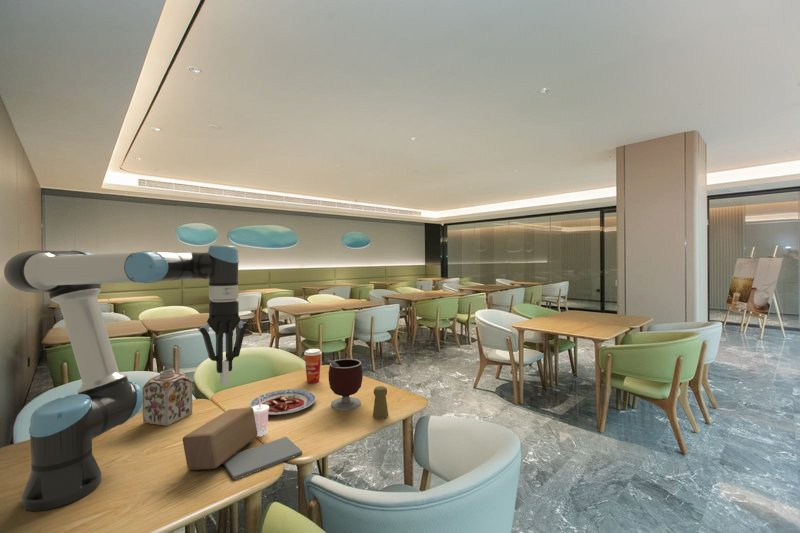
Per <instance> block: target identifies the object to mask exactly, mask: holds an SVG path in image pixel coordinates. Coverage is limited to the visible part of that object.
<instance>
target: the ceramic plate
mask: <svg viewBox="0 0 800 533" xmlns="http://www.w3.org/2000/svg"><path fill="white" fill-rule="evenodd" d="M316 400H317V396H316V394H314V393H313V392H311V391H308V390H305V389H304V390H303V389H297V388H296V389H295V388H294V389H292V388H291V389H283V390H274V391H270V392H266V393H264V394H260V402H261V404H266V405H269V410H268V416H270V415H273V416H276V415H277V416H278V415H286V414H292V413H296V412H299V411H302V410H305V409H306V408H308V407H311V406H312V405H313V404H314V403H315V402H316ZM256 405H259V396H257V397H256V398H253V400H252V401H251V402H250V403H249V407H251V408H252V407H253V406H256Z"/></svg>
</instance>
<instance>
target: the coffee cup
mask: <svg viewBox="0 0 800 533" xmlns="http://www.w3.org/2000/svg"><path fill="white" fill-rule="evenodd" d="M303 354H304V360H305V374H306V382H307V383H309V384H314V383H316V384H317V383H319V382H320V378H321V374H320V373H321V359H322V358H321V355H322V351H321V350H320V348H309V349H306V350H305V351H304V353H303Z"/></svg>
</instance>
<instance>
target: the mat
mask: <svg viewBox="0 0 800 533" xmlns="http://www.w3.org/2000/svg"><path fill="white" fill-rule="evenodd" d="M300 454H302V455H303V450H302V449H301V448H299V446H298V445H297V444H295V443H294V442H293V441H292V440H290V439H289V438H288V437H287V436H284V437H281V438H278V439H275V440H273V441H269V442H266V443H263V444H261V445H260V444H259V445H257V446H254V447H251V448H248V449H245V450H243V451H240V452H239V451H238V452H236V453H235V454H233V455H232V456H231V457H230V458H228V459H227V460H226V461H225V462H223V463H222V465H223V466H224V467H225V470H227V472H228V475H230V477H231V476H232V477H231V479H232V480H233V479H236V478H238V479H240V478H239V477H241V478H243V477H242V476H244V477H246V476H248V475H247V474H249V475H251V474H253V473H252V472H254V473H256V472H255V471H257V470H259V469H262V468H265V469H267V468H269V466H270V467H272V466H274V465H278V464H281V463H282V462H285V461H288V460H290V458H291V457H293V456H296V457H298V456H297V455H299V456H301V455H300ZM291 459H292V458H291ZM266 467H267V468H266ZM262 470H263V469H262ZM259 471H260V470H259ZM257 472H258V471H257ZM250 473H251V474H250ZM245 475H246V476H245ZM236 480H237V479H236Z"/></svg>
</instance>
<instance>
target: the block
mask: <svg viewBox="0 0 800 533" xmlns="http://www.w3.org/2000/svg"><path fill="white" fill-rule="evenodd" d="M257 434H258V433H257V427H256V422H255V416H254V411H253V408H251V407H250V406H249V407H243V408H242V407H241V408H233V409H228V410H226V411H225V412H223V413H221V414H220V415H217V416H216V417H214V418H212V419H210V420H209V421H208V422H206V423H205V424H202V425H200V426H199V427H198V428H196V429H195V430H192V431H190V432H189V433H188V434H186V435H184V436H183V437H182V444H183V451H184V455H185V456H184V457H185V461H186V467H187V469H188V471H198V470H211V469H213V470H214V469H216V468H218V467H219V466H221V465H223V462H225V461H226V460H227V459H228V458H230V457H231V456H232V455H233V454H236V453H238V452H239V451H240V450H241V449H242V448H244V447H245V446H247V444H249V443H250V442H251V441H252V440H254V439H255V438H257Z"/></svg>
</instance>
